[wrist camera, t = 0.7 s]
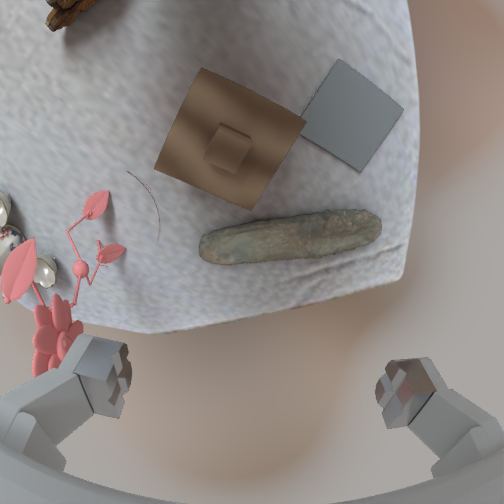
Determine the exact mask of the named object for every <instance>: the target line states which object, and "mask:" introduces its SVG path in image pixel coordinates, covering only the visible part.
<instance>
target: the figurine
mask: <svg viewBox="0 0 504 504" xmlns="http://www.w3.org/2000/svg"><path fill="white" fill-rule="evenodd" d="M127 172H128V171H127ZM130 174H131V173H130ZM133 176H134V175H133ZM138 180H139V179H138ZM139 181H140V180H139ZM140 182H141V181H140ZM141 183H142V182H141ZM142 184H143V183H142ZM143 185H144V184H143ZM147 186H148V185H147ZM146 189H147V188H146ZM147 190H148V189H147ZM148 191H149V190H148ZM149 193H150V192H149ZM151 196H152V195H151ZM108 197H109V191H101V192H97V193H95V194H93V195H91V196H90V197H89V198H88V199H87V200H86V203H85V206H84V209H83V214H84V216H83V217H82V218H81V219H80V220H78V221H77V222H76V223H75V224H74V225H73V226H71V227H70V228H69V229H68V230H67V232H66V233H67V235H68V238H69V240H70V242H71V244H72V246H73V248H74V250H75V253H76V255H77V257H78V259H79V261H77V262H75V263H74V265H73V273H74V275H75V276H76V277H78V282H77V286H76V290H75V295H74V300H73V303H71V304H69V302H68V301H67V300H64V301H63V300H62V299H61V297H60V296H59V295H58V294H55V295H54V296H53V298H52V301H51V307H46V305H45V303H44V301H43V299H42V297H41V295H40V293H39V291H38V289H37V287H36V285H35V283H34V281H33V279H34V276H35V271H36V266H37V255H36V244H35V239H34V237H33V238H31V239H29V240H27V241H25V242H24V243H22V244H21V245H19V246H18V247H16V248H15V249H14V250H13V251H12V252H11V254H10V255H9V257H8V258H7V259H6V261H5V264H4V267H3V270H2V273H1V290H2V292H3V294H4V296H5V297H4V302H5V303H6V304H9V303H10V302H11V300H16V299H19V298H20V297H21V296H22V295H23V294H24V293H25V292H26V291H27V290H28V289H29V287H30V285H32V287H33V289H34V291H35V293H36V295H37V297H38V299H39V301H40V303H41V305H37V306H35V307H34V317H35V321H36V324H37V327H38V329H37V331H36V333H35V334H34V337H33V345H34V347H35V348H36V350H35V354H34V357H33V363H32V371H33V376H34V377H35V378H36V377H37V376H39V375H41V374H43V373H45V372H47V371H49V370H50V369H52V368H57V369H58V367H59V366H60V364H61V362H62V361H63V359H64V357H65V355H66V354H67V352H68V351H69V349H70V347H71V346H72V344H73V342H74V341H75V339H76V338H77V336H78V335H80V334H81V333H82V334H83V324H82V322H81V321H79V320H77V321H75V322H74V323H72V318H71V309H70V308H71V307H73V305H76V303H77V296H78V291H79V285H80V280H81V278H84V277H86V278H87V281H88V284H89V286H90V285H91V284H92V281H93V279H94V276H95V274H96V272H97V270H98V267H99V265H100V263H105V264H106V263H110V262H112V261H114V260H116V259H117V258H118V257H119V256H120V255H121V254H122V253H123V252H124V251H125V250H126V248H124V247H123V246H121V245H119V244H110V245H107V246H105V247H104V248H102V249H101V247H100V242H99V240H97V245H98V250H99V252H98V254H97V256H96V257H97V258H96V259H97V261H98V262H99V263H98V265H97V267H96V269H95V272H94V274H93V276H92V278H91V281H89V278H88V273H89V267H88V264H87V263H86V262H85V261H82V260H81V258H80V256H79V254H78V252H77V250H76V248H75V245H74V243H73V241H72V239H71V237H70V235H69V231H70V230H71V229H73V228H74V227H75V226H76V225H77V224H78V223H79V222H81V221H82V220H83V219H84V218H85V217H86V219H89V220H93V219H95V218H97V217H99V216H100V215H101V214H102V213H103V212H104V211H105V209H106V207H107V203H108ZM152 198H153V197H152ZM154 202H155V201H154ZM155 204H156V203H155ZM156 207H157V206H156ZM157 210H158V209H157ZM158 214H159V213H158ZM159 222H160V219H159ZM123 249H124V250H123ZM101 266H104V265H101ZM107 267H108V266H107ZM50 310H52V312H51V311H50Z"/></svg>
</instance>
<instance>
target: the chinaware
mask: <svg viewBox="0 0 504 504" xmlns="http://www.w3.org/2000/svg"><path fill="white" fill-rule="evenodd" d="M11 201H12V200H11V198H10V195H9V194H8V193H6V192H4V191H0V276H1V273H2V270H3V267H4V264H5V261H6V259H7V258H8V257H9V255H10V254H11V252H12V251H13V250H14V249H15V248H16V247H18V246H19V245H21V244H22V243H24V242H25V241H26V239H25V237H24V235H23V233H22V232H21V231H20V230H19V229H18V228H17V227H15V226H13V225H11V224H7V219H8V216H9V214H10V210H11ZM36 255H37V266H36V271H35V276H34V279H33V281H34V282H35V283H40V284H41V285H42V286H43V287H44V288H50V287H53V285H54V284H55V283H56V282H57V279H56V272H57V267H56V263H55V259H56V258H54V257H53V255H51V253H39V254H36ZM2 296H3V299H4V297H5V296H4V294H3V292H2Z"/></svg>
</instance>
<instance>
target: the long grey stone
mask: <svg viewBox="0 0 504 504" xmlns="http://www.w3.org/2000/svg"><path fill="white" fill-rule="evenodd" d="M381 231H382V224H381V219H380V218H379V217H378V216H376V215H372V214H371V213H368V212H367V210H365V209H363V210H356V209H353V210H342V211H341V210H340V211H337V210H334V211H329V210H328V209H327V210H326V211H324V212H317V213H316V214H310V215H299V216H295V217H292V218H287V219H272V220H267V221H262V220H260V221H257V222H253V223H247V224H244V225H240V226H233V227H226V228H223V229H220V230H216V231H215V230H214V231H213V232H212V233H211V234H208V235H205V234H204V235H203V236H202V238H201V241H200V245H199V256H200V257H201V258H202V259H204V260H205V261H208V262H211V263H215V264H221V265H232V264H237V263H256V262H266V261H271V260H285V259H287V260H288V259H296V258H312V259H317V258H321V257H323V256H326V255H331V254H334V255H335V254H336V253H340V252H343V251H347V250H352V249H355V248H356V247H360V246H363V245H366V244H368V243H370V242H372V241H374V240H375V239H377V238H378V236H379V235H380V234H381Z"/></svg>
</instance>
